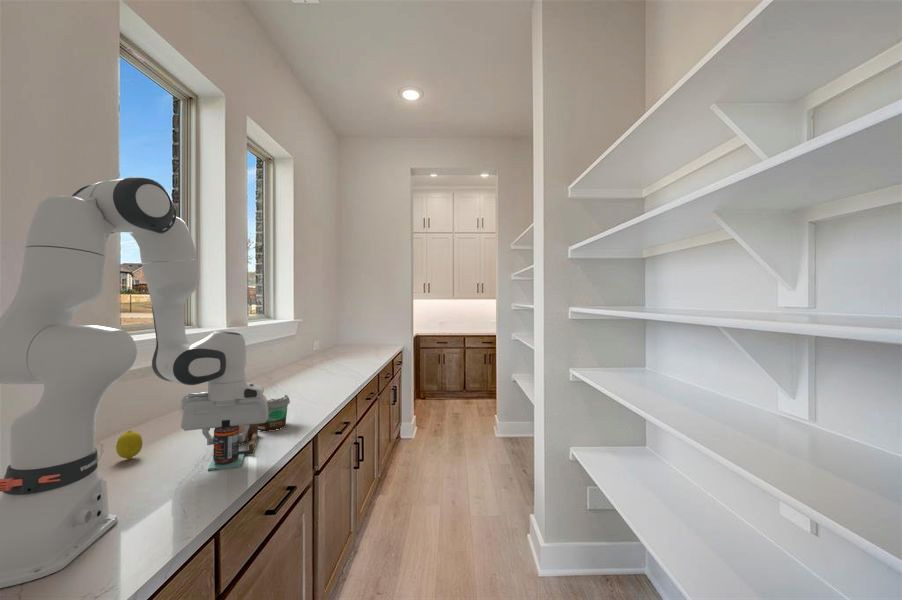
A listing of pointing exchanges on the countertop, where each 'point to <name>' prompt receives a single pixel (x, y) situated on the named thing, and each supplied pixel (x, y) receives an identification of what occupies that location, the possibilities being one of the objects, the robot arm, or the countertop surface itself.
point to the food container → (275, 414)
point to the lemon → (129, 444)
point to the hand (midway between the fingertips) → (226, 442)
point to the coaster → (227, 465)
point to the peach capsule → (242, 432)
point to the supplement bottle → (226, 443)
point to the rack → (254, 434)
